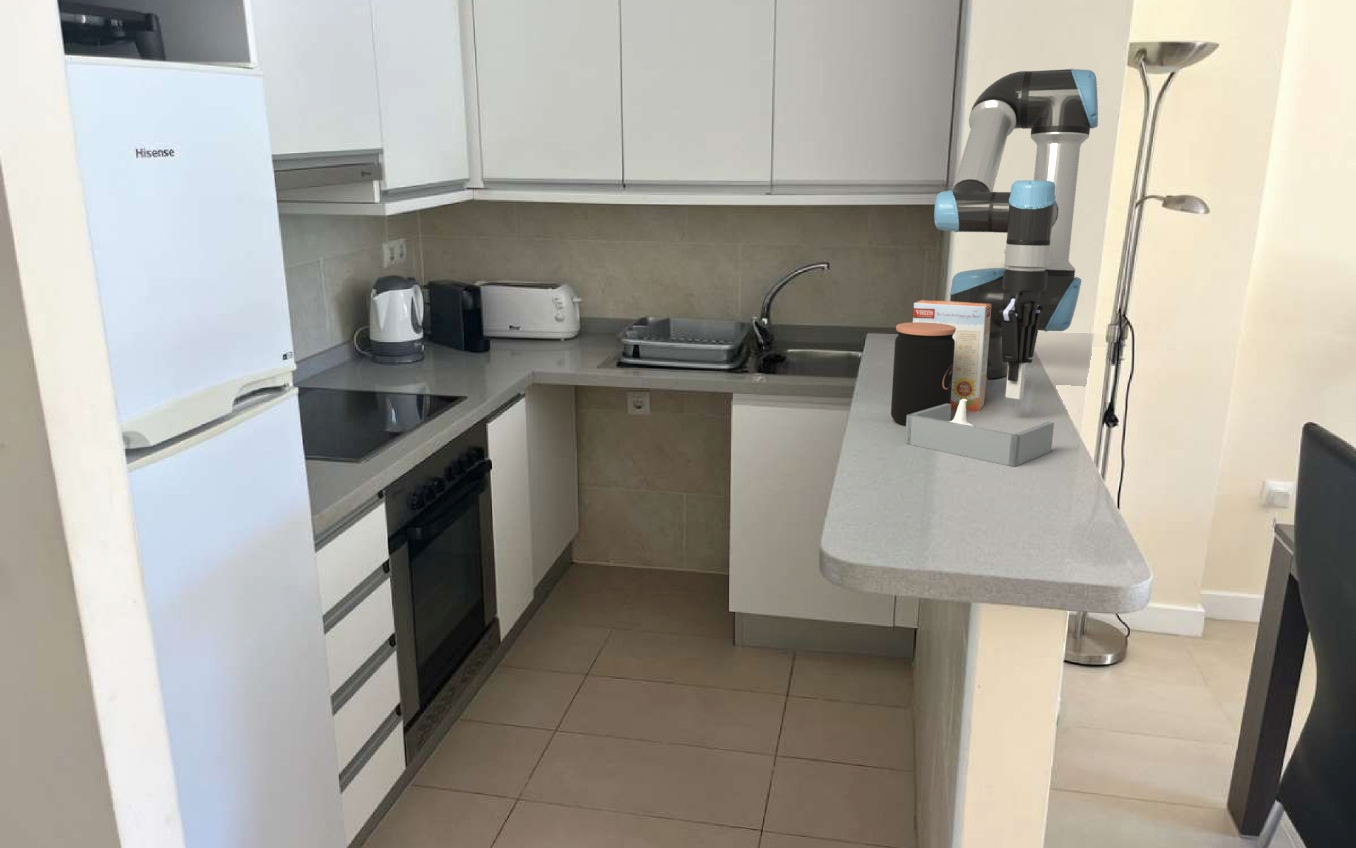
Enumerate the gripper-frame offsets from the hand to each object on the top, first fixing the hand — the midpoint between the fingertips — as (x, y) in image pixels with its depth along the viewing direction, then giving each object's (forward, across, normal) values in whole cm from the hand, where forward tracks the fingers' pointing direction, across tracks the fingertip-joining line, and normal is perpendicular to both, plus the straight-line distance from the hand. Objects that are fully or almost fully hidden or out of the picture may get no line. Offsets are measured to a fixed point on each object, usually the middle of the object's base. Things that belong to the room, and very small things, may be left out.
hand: (1014, 397), depth 185 cm
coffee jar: (+5, +11, -13) cm, 18 cm away
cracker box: (+5, -4, -16) cm, 17 cm away
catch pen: (+5, +20, +4) cm, 21 cm away
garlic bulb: (+6, +20, 0) cm, 21 cm away
